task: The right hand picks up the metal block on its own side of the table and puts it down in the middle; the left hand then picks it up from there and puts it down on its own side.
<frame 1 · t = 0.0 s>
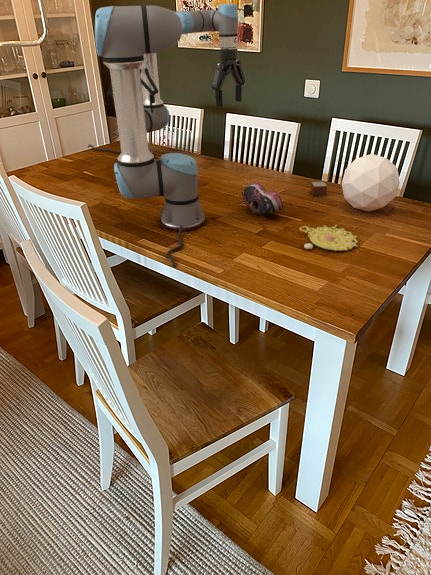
left hand: (229, 103, 192), 28 cm above the table, tool pointing down, fingers open, 13 cm apart
right hand: (135, 113, 181), 28 cm above the table, tool pointing down, fingers open, 13 cm apart
block: (318, 193, 175), on the table
decorative object: (328, 239, 142), on the table
athletic shoe: (257, 211, 163), on the table
sphere: (365, 208, 162), on the table
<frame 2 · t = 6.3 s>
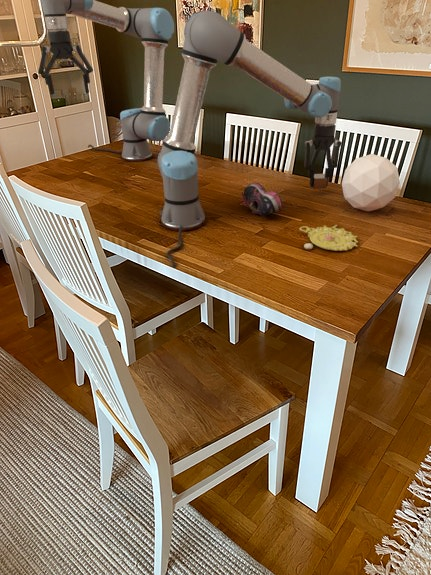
left hand: (70, 93, 172), 37 cm above the table, tool pointing down, fingers open, 13 cm apart
right hand: (318, 185, 174), 4 cm above the table, tool pointing down, fingers closed on block, 5 cm apart
block: (318, 186, 174), point 3 cm above the table, touching right hand
everything else where it was.
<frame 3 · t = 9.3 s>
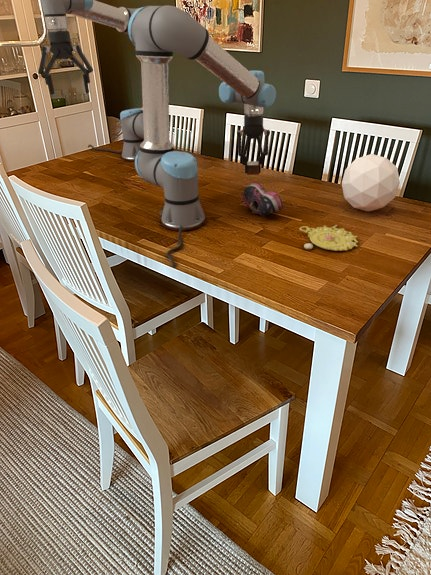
left hand: (70, 93, 172), 37 cm above the table, tool pointing down, fingers open, 13 cm apart
right hand: (252, 172, 187), 4 cm above the table, tool pointing down, fingers closed on block, 5 cm apart
block: (252, 172, 187), point 4 cm above the table, touching right hand
everything else where it was.
when the right hand's fingers open (0 cm above the table, at t = 12.6 s): block stays where it is, on the table.
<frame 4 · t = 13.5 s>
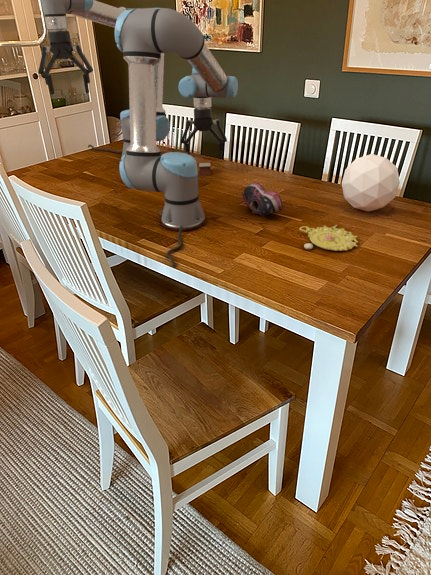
left hand: (70, 93, 172), 37 cm above the table, tool pointing down, fingers open, 13 cm apart
right hand: (204, 158, 197), 7 cm above the table, tool pointing down, fingers open, 13 cm apart
block: (205, 173, 201), on the table
everything else where it was.
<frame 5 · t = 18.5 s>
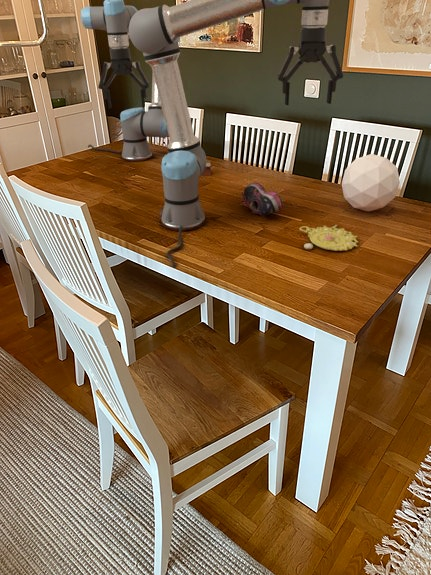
left hand: (127, 107, 179), 30 cm above the table, tool pointing down, fingers open, 13 cm apart
right hand: (307, 103, 142), 37 cm above the table, tool pointing down, fingers open, 13 cm apart
nothing on the table moved.
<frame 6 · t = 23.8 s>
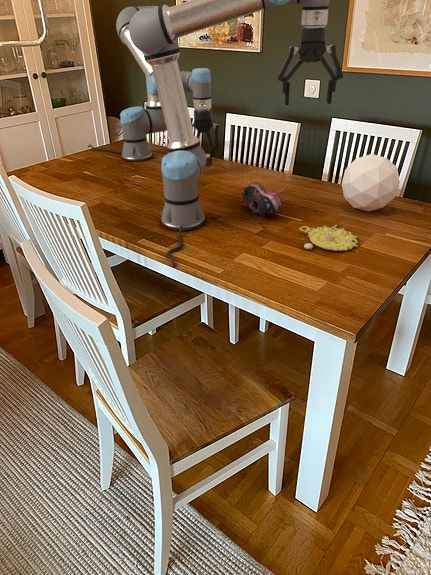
left hand: (204, 164, 198), 4 cm above the table, tool pointing down, fingers closed on block, 5 cm apart
right hand: (307, 103, 142), 37 cm above the table, tool pointing down, fingers open, 13 cm apart
block: (204, 164, 199), point 4 cm above the table, touching left hand
everything else where it was.
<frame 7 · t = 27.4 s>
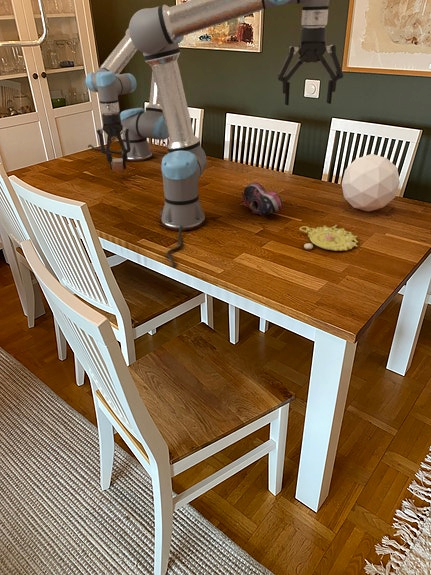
left hand: (118, 168, 196), 5 cm above the table, tool pointing down, fingers closed on block, 5 cm apart
right hand: (307, 103, 142), 37 cm above the table, tool pointing down, fingers open, 13 cm apart
block: (118, 169, 196), point 4 cm above the table, touching left hand
everything else where it was.
when the left hand's fingers open (0 cm above the table, at t = 31.0 s): block stays where it is, on the table.
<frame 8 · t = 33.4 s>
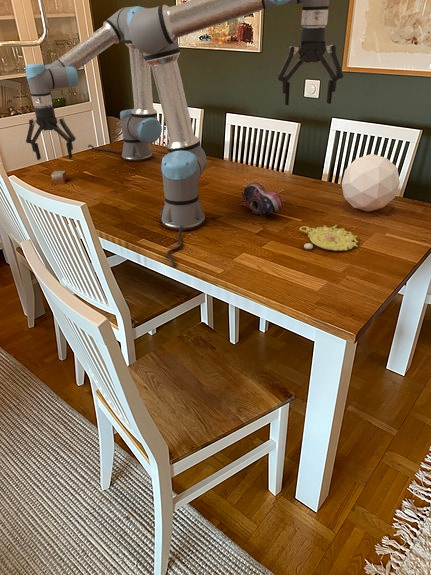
left hand: (55, 158, 191), 10 cm above the table, tool pointing down, fingers open, 13 cm apart
right hand: (307, 103, 142), 37 cm above the table, tool pointing down, fingers open, 13 cm apart
block: (60, 181, 196), on the table
everything else where it was.
at the end: block inside the target area (0.1 cm from its centre), on the table; block tilted 0°; the two hands never held the block at the same time; the left hand is holding nothing; the right hand is holding nothing; block at rest at the end (0.0 cm/s) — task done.
